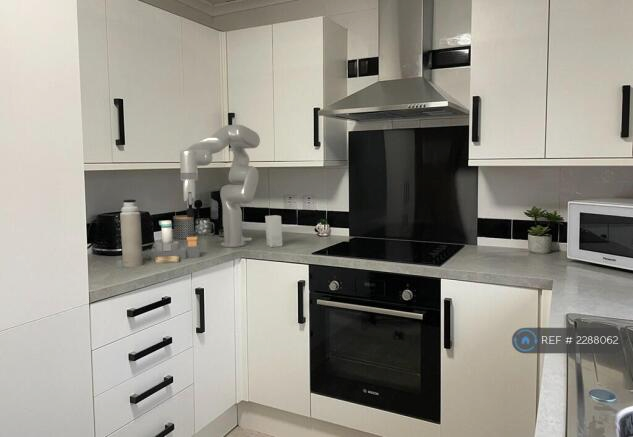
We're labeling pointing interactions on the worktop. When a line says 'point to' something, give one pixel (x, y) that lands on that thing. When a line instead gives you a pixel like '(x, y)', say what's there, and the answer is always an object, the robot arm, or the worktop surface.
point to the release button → (192, 241)
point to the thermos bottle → (131, 234)
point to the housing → (174, 250)
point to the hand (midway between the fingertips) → (190, 217)
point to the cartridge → (166, 231)
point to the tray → (167, 259)
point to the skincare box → (273, 231)
